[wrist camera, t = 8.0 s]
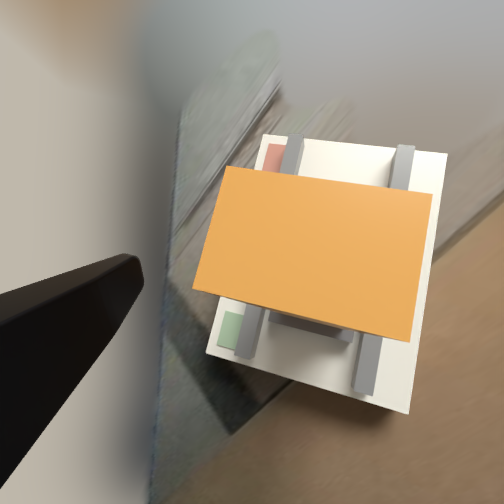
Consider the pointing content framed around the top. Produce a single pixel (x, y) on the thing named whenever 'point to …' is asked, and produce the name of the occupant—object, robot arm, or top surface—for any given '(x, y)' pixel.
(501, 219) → the top surface
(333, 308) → the handle
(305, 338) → the plate
